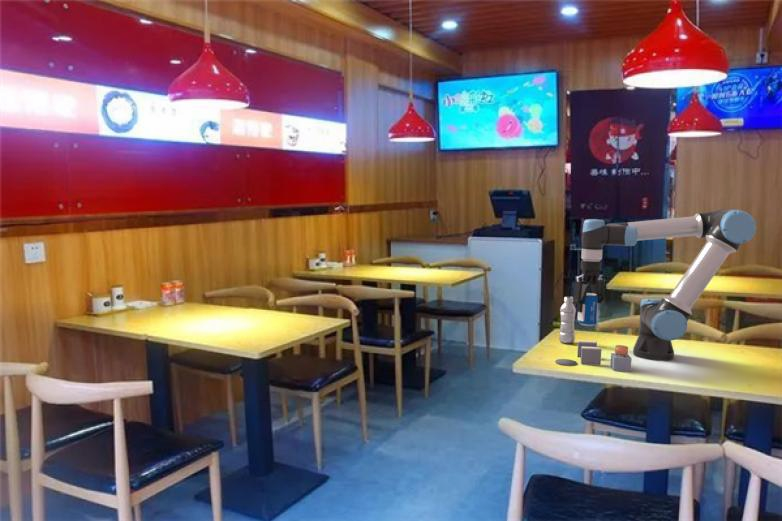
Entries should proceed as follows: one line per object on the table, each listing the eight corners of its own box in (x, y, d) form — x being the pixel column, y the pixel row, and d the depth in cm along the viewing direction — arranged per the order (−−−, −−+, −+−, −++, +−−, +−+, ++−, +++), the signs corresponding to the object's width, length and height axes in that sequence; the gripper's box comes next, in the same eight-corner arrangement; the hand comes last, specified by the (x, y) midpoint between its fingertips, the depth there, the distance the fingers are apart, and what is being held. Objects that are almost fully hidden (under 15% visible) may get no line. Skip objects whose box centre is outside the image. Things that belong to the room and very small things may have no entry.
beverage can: (584, 326, 231) (586, 295, 229) (575, 323, 237) (577, 292, 236) (599, 326, 233) (601, 295, 231) (589, 322, 239) (591, 292, 237)
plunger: (625, 364, 228) (626, 345, 227) (628, 368, 224) (629, 348, 223) (613, 364, 229) (614, 344, 228) (615, 367, 224) (616, 347, 224)
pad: (575, 360, 237) (575, 359, 237) (578, 366, 229) (578, 365, 229) (554, 359, 238) (554, 358, 238) (556, 365, 230) (556, 364, 230)
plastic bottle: (575, 345, 260) (577, 299, 258) (559, 344, 262) (561, 298, 259) (574, 341, 266) (576, 296, 264) (558, 340, 268) (560, 295, 266)
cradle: (595, 357, 242) (596, 341, 241) (600, 365, 231) (601, 348, 230) (577, 356, 243) (577, 340, 242) (581, 364, 232) (582, 347, 231)
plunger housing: (627, 367, 229) (627, 354, 228) (630, 371, 223) (631, 358, 222) (610, 366, 230) (611, 353, 229) (613, 370, 224) (614, 357, 223)
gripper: (601, 258, 240) (597, 315, 243) (565, 259, 230) (561, 319, 233) (617, 260, 233) (612, 319, 236) (580, 262, 224) (576, 323, 227)
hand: (587, 319), depth 235 cm, fingers closed on beverage can, 6 cm apart
